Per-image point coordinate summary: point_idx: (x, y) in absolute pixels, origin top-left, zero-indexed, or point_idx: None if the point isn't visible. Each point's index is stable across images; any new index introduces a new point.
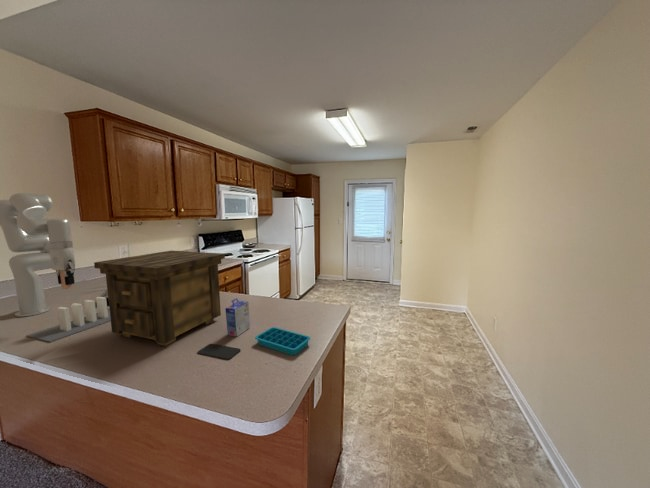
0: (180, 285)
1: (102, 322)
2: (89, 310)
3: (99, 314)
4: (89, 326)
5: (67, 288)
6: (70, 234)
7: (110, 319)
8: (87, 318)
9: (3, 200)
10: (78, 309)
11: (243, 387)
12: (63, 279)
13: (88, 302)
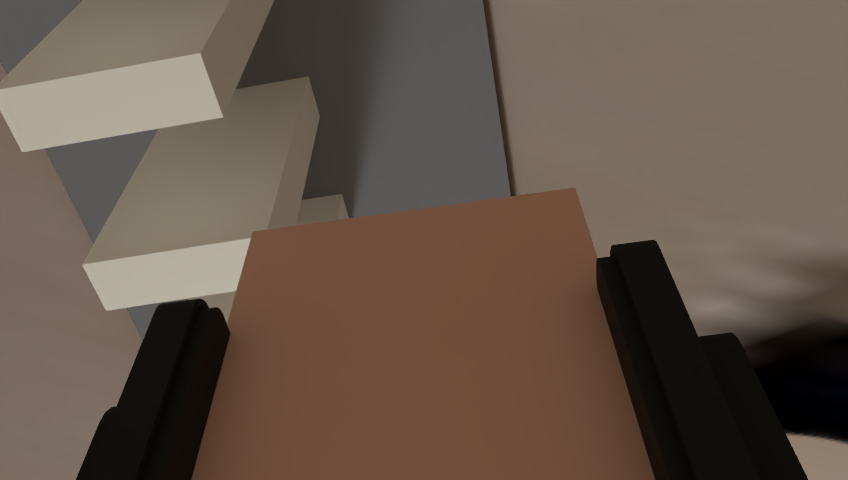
0: None
1: (58, 147)
2: (182, 169)
3: (306, 218)
4: (14, 19)
5: (267, 245)
6: None
7: (103, 225)
8: (275, 96)
9: None
10: (24, 58)
11: None
12: (429, 439)
13: (145, 244)
